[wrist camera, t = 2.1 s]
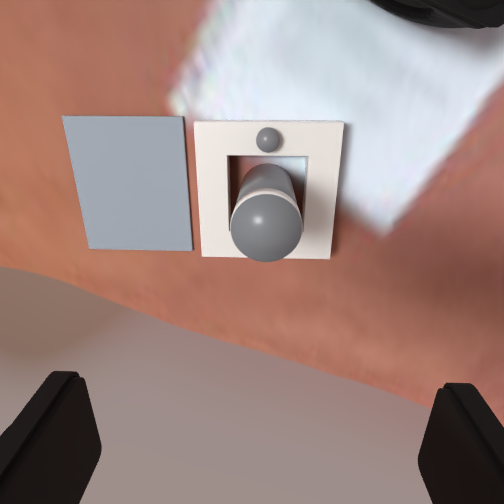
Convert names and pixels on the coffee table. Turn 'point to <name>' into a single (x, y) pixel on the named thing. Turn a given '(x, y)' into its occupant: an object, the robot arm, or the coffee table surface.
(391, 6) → the controller
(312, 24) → the coffee table surface
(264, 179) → the cartridge
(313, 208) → the frame
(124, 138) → the mat
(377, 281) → the coffee table surface
